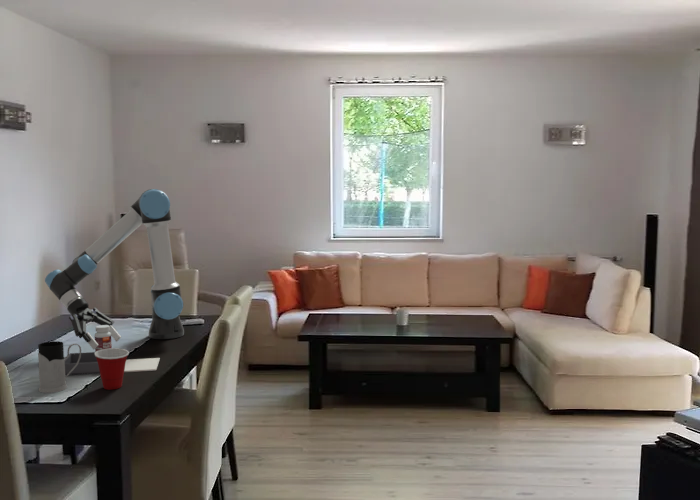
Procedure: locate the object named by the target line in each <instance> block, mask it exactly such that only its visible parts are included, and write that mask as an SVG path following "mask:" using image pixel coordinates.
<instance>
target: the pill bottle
mask: <svg viewBox="0 0 700 500" xmlns="http://www.w3.org/2000/svg"><path fill="white" fill-rule="evenodd" d="M109 330H110V328H109V325H96V326H95V334H94V340H95V341H96V342H97V343H98V344H99V345H98V346H97V347H96V348H95V349H94V352H96V351H99V350H102V349H109V348H113V347H112V346H113V345H112V336H111V333H110V332H108V331H109Z"/></svg>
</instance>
